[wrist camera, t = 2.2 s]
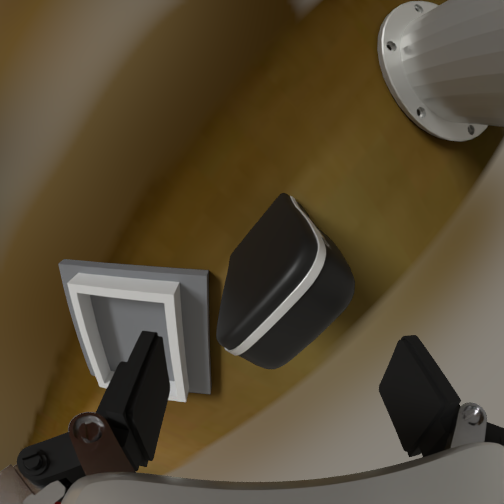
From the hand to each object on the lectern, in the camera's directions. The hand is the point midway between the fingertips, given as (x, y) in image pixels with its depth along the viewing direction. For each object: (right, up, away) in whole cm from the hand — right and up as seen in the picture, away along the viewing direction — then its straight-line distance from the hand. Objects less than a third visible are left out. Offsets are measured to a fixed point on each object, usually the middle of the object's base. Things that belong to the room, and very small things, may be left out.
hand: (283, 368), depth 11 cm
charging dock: (-12, -3, +16) cm, 20 cm away
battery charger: (+1, +5, +12) cm, 13 cm away
